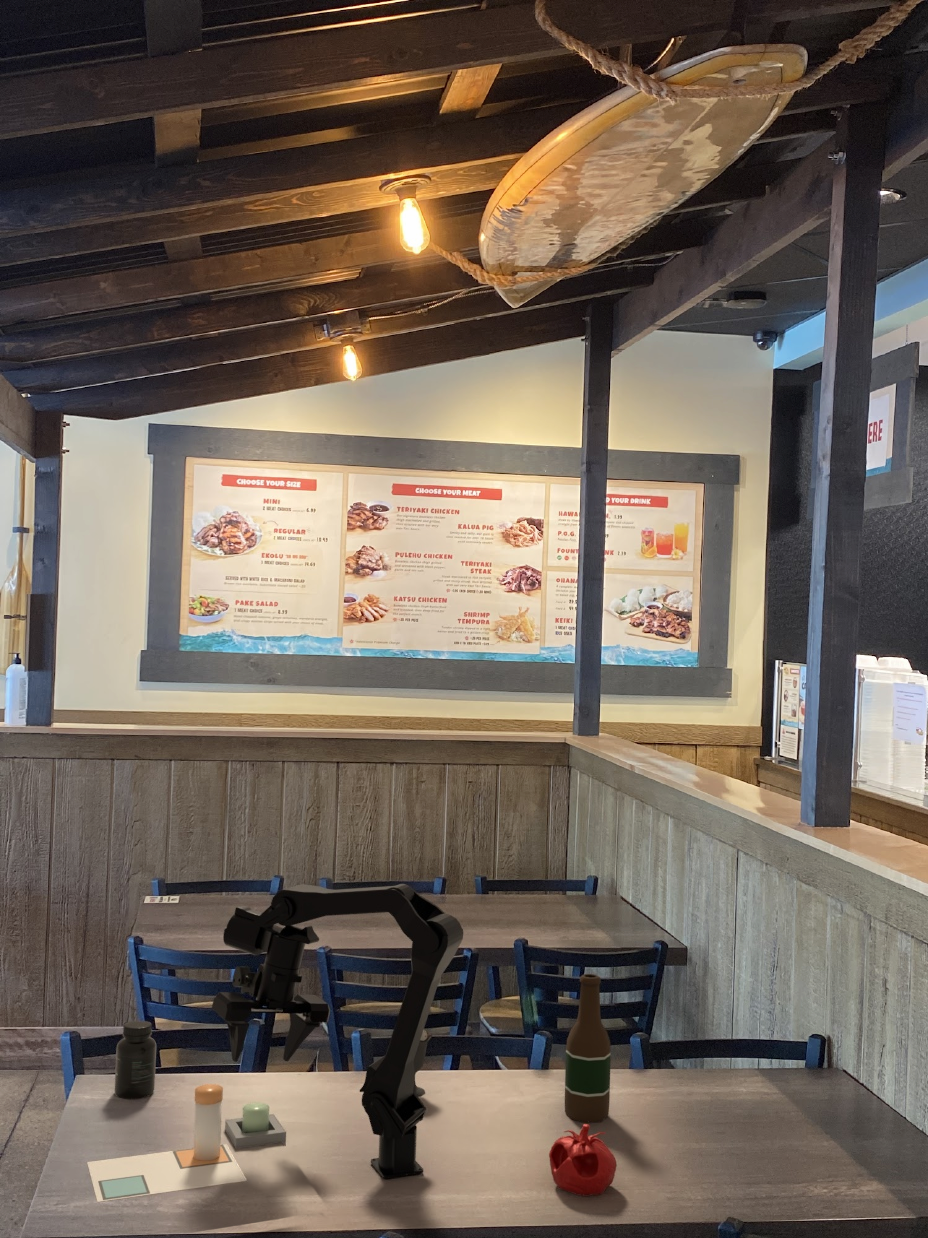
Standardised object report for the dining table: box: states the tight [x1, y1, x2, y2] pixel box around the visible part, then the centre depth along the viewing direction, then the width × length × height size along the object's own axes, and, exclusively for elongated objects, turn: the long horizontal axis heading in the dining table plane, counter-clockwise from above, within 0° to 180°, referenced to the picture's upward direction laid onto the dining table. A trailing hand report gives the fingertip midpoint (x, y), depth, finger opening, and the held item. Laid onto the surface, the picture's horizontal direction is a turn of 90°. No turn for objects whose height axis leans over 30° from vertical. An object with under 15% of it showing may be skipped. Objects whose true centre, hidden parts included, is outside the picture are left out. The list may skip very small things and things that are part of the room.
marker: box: [193, 1083, 224, 1161], centre depth 178 cm, size 4×4×10 cm
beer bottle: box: [564, 973, 612, 1124], centre depth 203 cm, size 8×8×24 cm
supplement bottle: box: [114, 1020, 157, 1100], centre depth 206 cm, size 7×7×12 cm
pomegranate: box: [548, 1123, 618, 1197], centre depth 174 cm, size 10×10×9 cm
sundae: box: [413, 1028, 433, 1097], centre depth 211 cm, size 7×7×15 cm
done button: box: [242, 1102, 270, 1134], centre depth 187 cm, size 4×4×4 cm
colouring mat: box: [86, 1143, 248, 1203], centre depth 172 cm, size 14×21×1 cm, turn 113°
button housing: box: [224, 1113, 287, 1149], centre depth 186 cm, size 8×8×2 cm
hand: (260, 1061), depth 186 cm, fingers open, 9 cm apart
